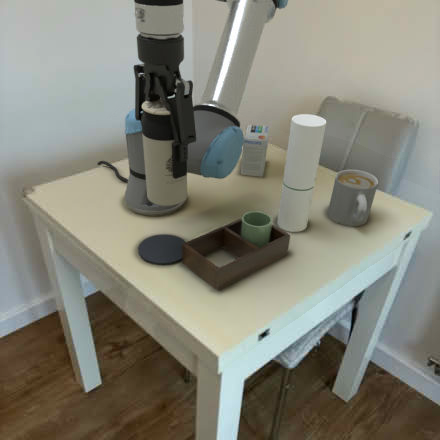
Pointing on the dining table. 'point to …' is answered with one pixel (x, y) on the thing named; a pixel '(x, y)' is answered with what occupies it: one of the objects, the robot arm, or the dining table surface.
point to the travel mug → (160, 157)
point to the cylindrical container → (300, 171)
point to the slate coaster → (161, 249)
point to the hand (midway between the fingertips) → (166, 167)
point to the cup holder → (240, 247)
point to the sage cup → (256, 228)
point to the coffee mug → (352, 197)
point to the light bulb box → (254, 150)
